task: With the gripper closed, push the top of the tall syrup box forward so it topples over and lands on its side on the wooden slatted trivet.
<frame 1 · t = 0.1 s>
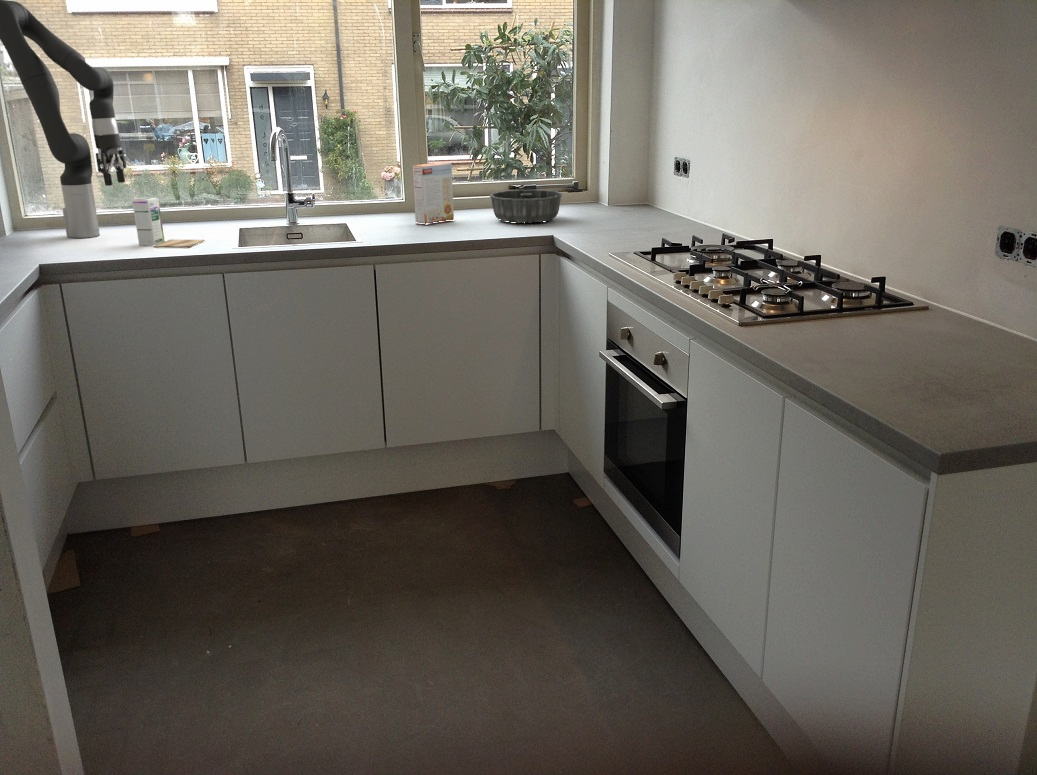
hand: (115, 184, 297), 17 cm above the worktop, tool pointing down, fingers open, 8 cm apart
bundt pan: (526, 221, 331), on the worktop
wooden slatted trivet: (179, 244, 287), on the worktop
cracker box: (434, 223, 328), on the worktop
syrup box: (151, 244, 288), on the worktop
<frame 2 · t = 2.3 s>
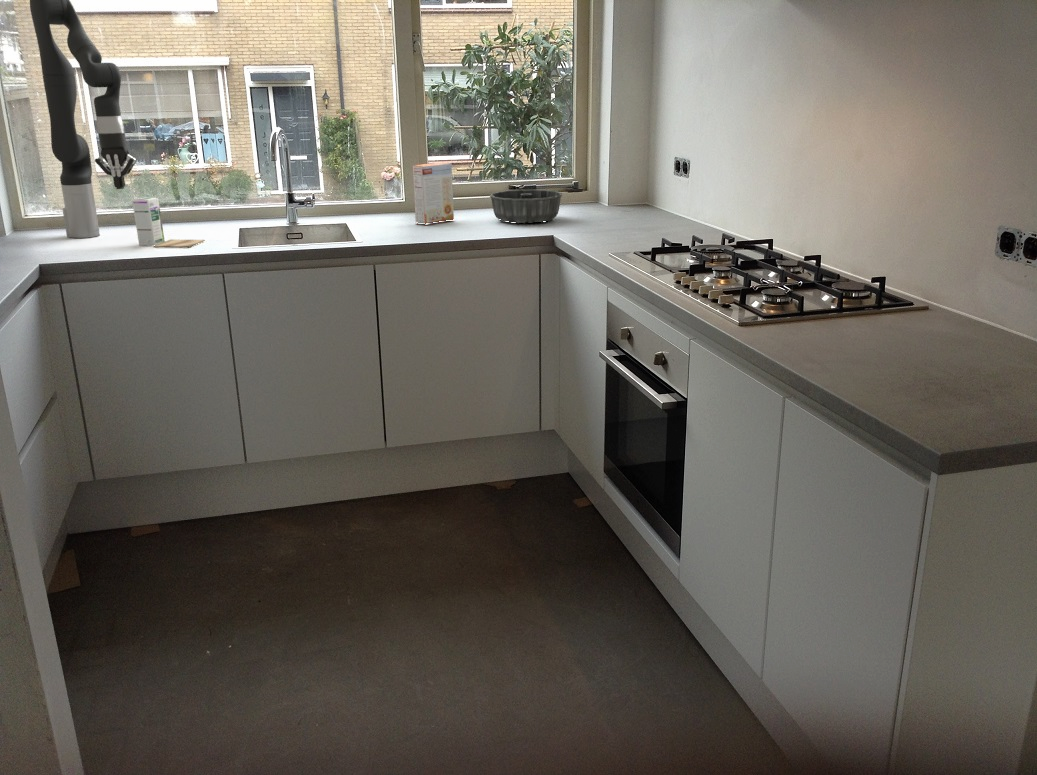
hand: (120, 188, 283), 17 cm above the worktop, tool pointing down, fingers closed
nothing on the worktop moved.
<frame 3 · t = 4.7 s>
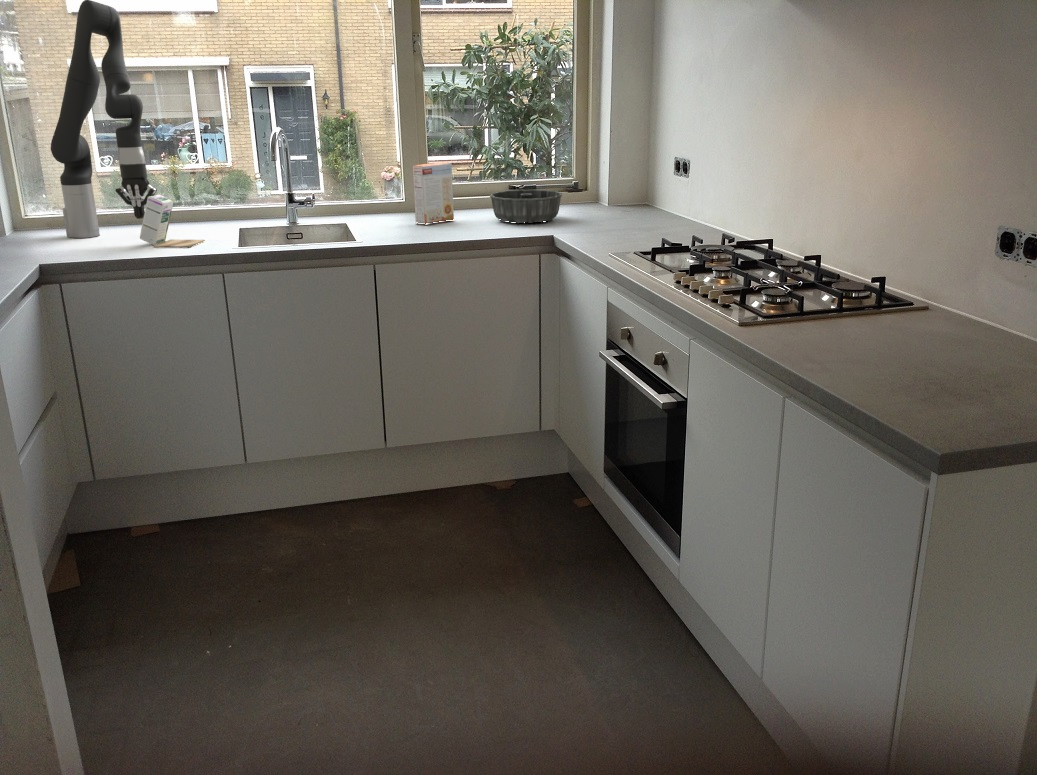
hand: (140, 218, 285), 8 cm above the worktop, tool pointing down, fingers closed
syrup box: (151, 241, 288), point 1 cm above the worktop
everything else where it was.
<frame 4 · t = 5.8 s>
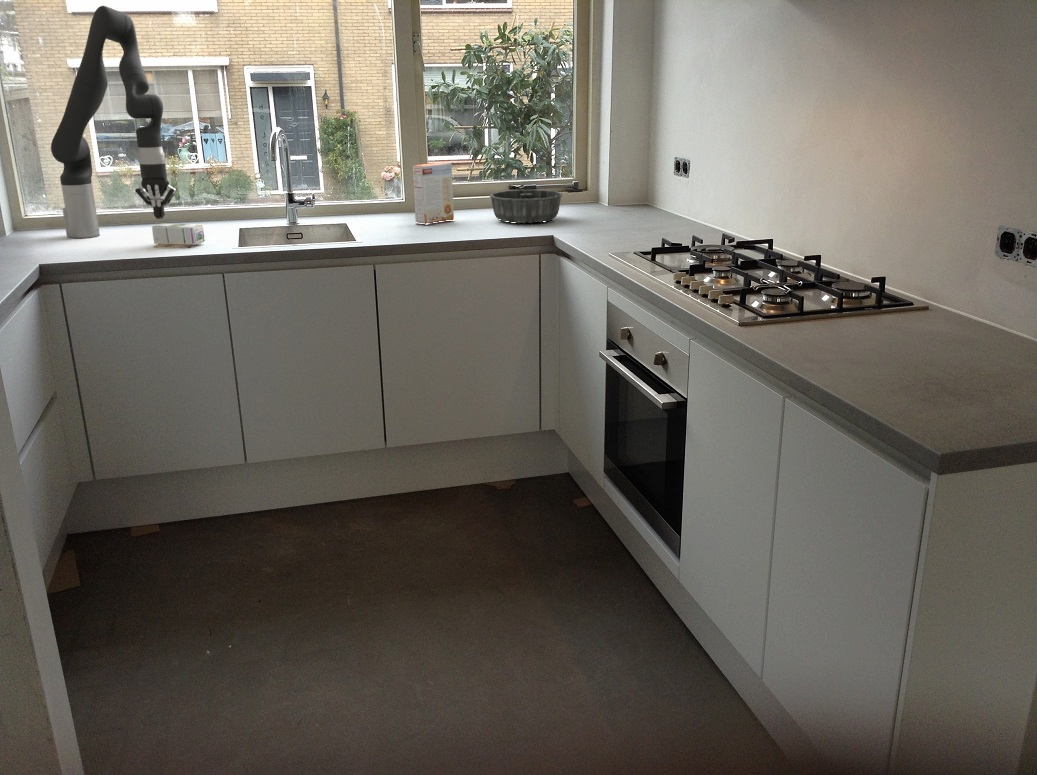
hand: (160, 218, 285), 8 cm above the worktop, tool pointing down, fingers closed
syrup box: (157, 233, 286), point 3 cm above the worktop, touching wooden slatted trivet
everything else where it was.
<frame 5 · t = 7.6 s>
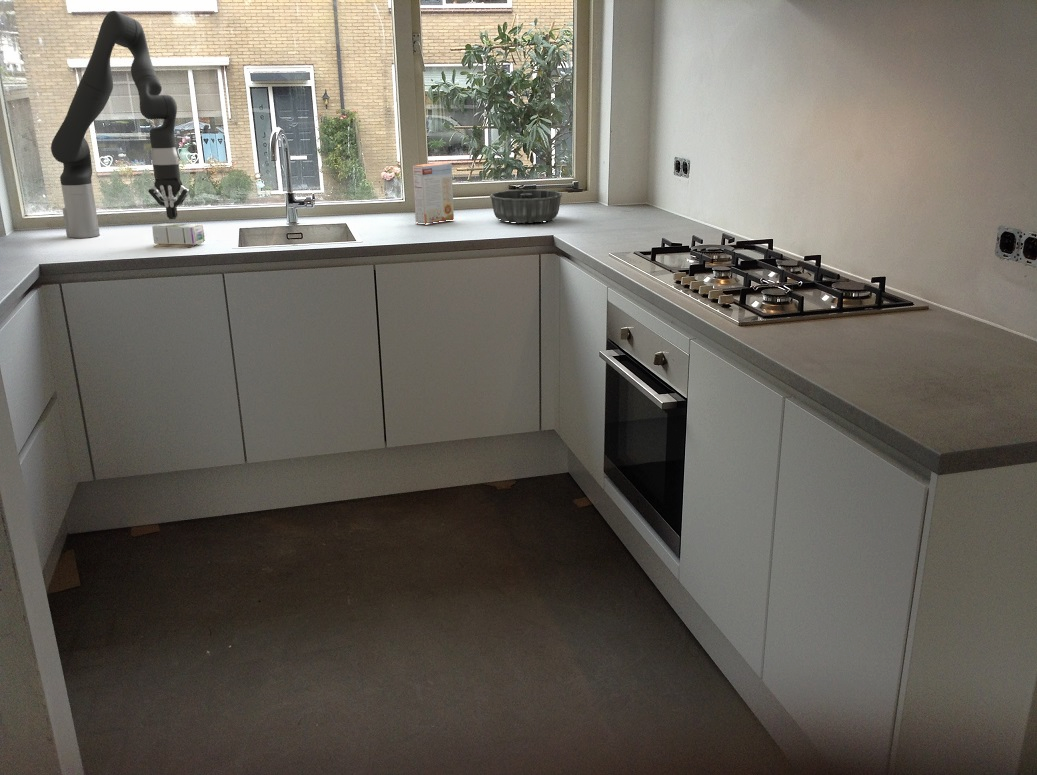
hand: (172, 219, 285), 8 cm above the worktop, tool pointing down, fingers closed
nothing on the worktop moved.
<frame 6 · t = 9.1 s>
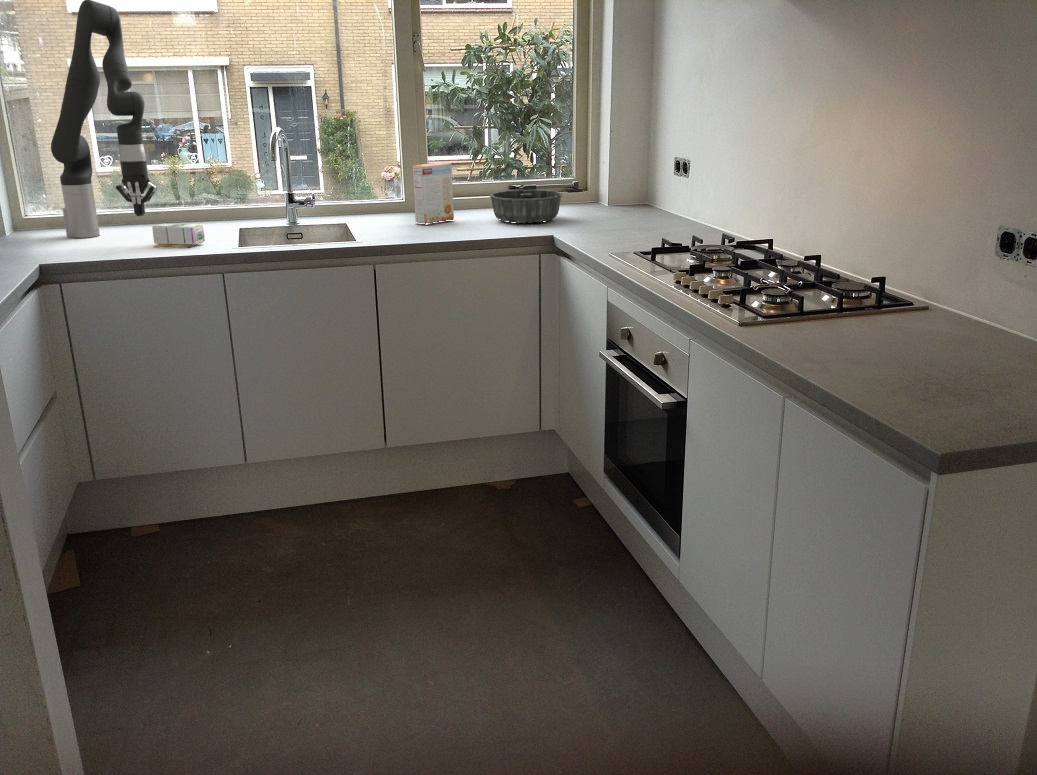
hand: (140, 215, 285), 9 cm above the worktop, tool pointing down, fingers closed
nothing on the worktop moved.
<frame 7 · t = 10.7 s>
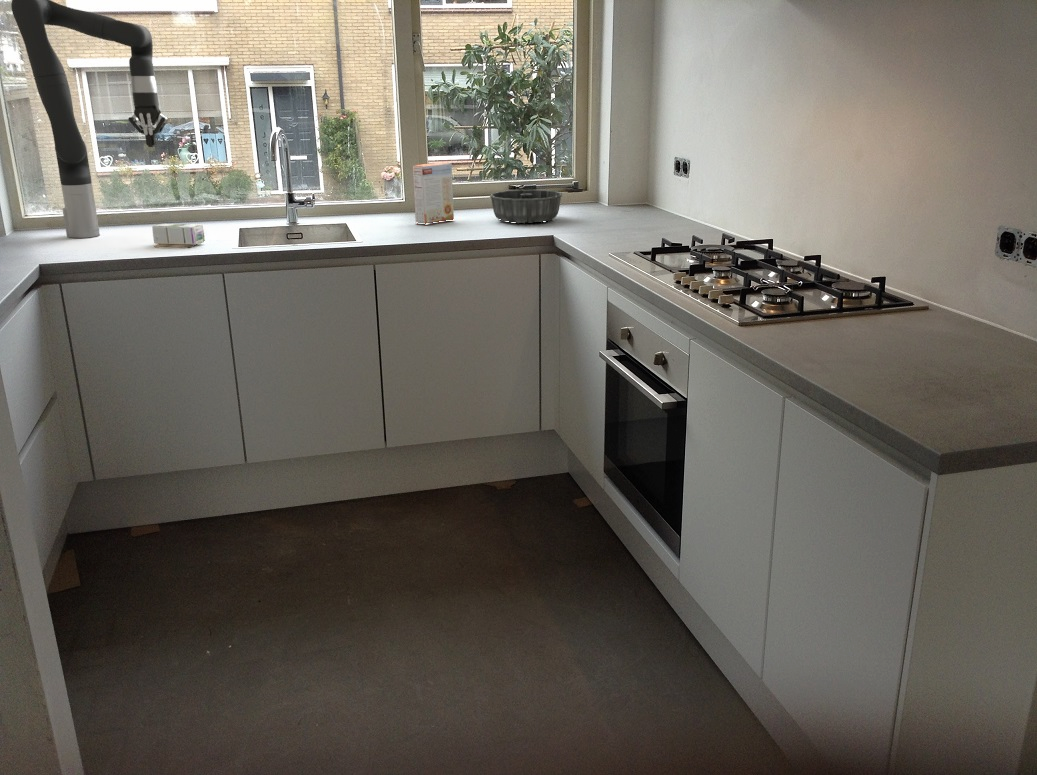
hand: (152, 146, 295), 29 cm above the worktop, tool pointing down, fingers closed
nothing on the worktop moved.
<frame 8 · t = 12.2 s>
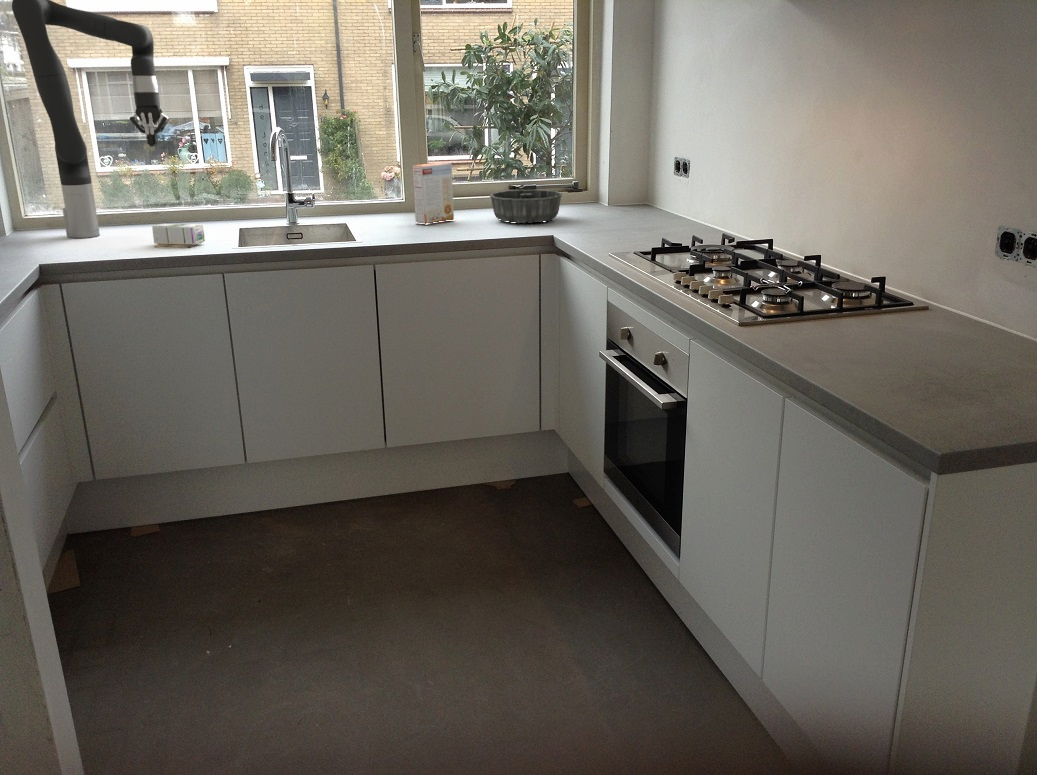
hand: (153, 146, 296), 29 cm above the worktop, tool pointing down, fingers closed
nothing on the worktop moved.
at the end: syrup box tilted 91°; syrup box 6.9 cm from the wooden slatted trivet (horizontally); the gripper is holding nothing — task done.
